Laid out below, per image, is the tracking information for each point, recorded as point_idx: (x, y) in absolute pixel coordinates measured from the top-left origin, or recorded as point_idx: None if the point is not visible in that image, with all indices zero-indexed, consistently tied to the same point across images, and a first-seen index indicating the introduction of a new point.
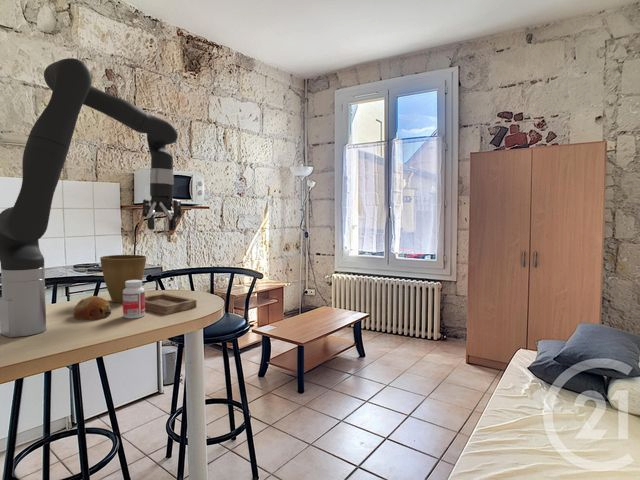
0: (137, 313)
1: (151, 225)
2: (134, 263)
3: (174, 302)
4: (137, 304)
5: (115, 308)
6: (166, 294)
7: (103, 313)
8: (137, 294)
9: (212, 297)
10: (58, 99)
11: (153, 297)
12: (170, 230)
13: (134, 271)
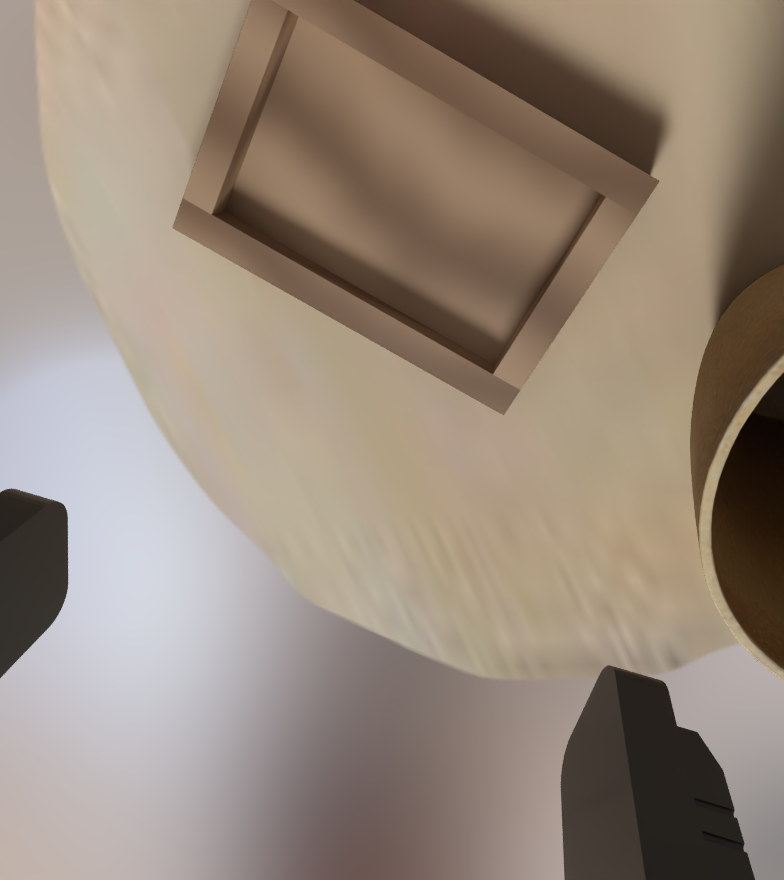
0: None
1: (601, 778)
2: (764, 346)
3: (355, 257)
4: None
5: (762, 80)
6: (463, 377)
7: None
8: None
9: (231, 498)
10: None
11: (535, 305)
12: (36, 498)
13: (742, 335)
